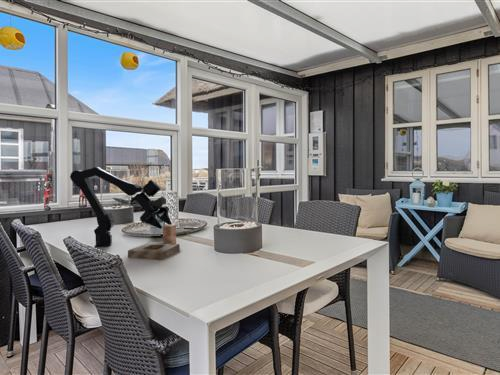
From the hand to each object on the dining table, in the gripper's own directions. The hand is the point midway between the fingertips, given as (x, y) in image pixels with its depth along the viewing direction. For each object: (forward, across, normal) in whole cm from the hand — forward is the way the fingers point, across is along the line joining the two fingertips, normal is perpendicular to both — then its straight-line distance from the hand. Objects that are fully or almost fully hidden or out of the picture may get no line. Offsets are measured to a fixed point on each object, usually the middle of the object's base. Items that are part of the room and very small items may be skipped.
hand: (166, 226), depth 166 cm
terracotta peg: (+8, 0, +6) cm, 10 cm away
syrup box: (-5, +19, +18) cm, 27 cm away
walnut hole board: (+8, -15, +5) cm, 18 cm away
